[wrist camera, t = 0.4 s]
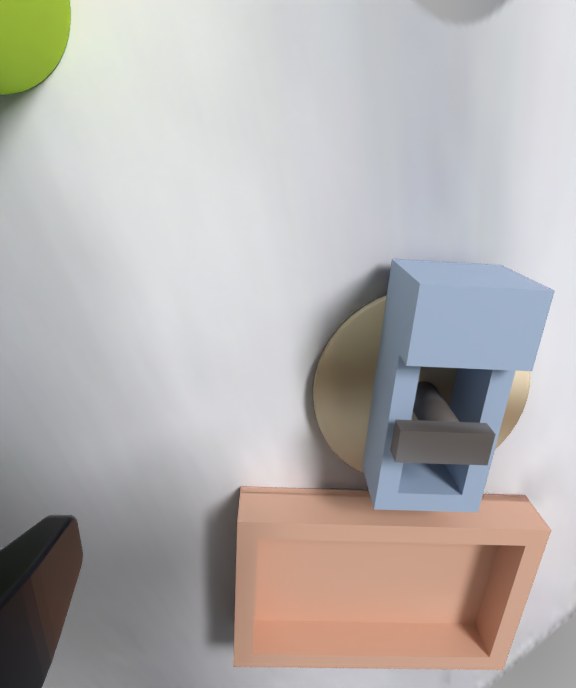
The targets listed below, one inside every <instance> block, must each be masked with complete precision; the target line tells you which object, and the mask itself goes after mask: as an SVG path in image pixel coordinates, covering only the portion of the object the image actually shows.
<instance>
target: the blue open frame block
mask: <svg viewBox="0 0 576 688" xmlns="http://www.w3.org/2000/svg"><path fill="white" fill-rule="evenodd" d="M553 294H554V290H552V289H550V288H548V287H546V286H544V285H542V284H540V283H538V282H535V281H533V280H531V279H529V278H527V277H525V276H523V275H521V274H519V273H517V272H515V271H513V270H511V269H509V268H507V267H504V266H502V265H493V264H475V263H457V262H439V261H421V260H403V259H392V262H391V269H390V276H389V283H388V290H387V297H386V304H385V311H384V318H383V325H382V332H381V339H380V346H379V353H378V360H377V367H376V374H375V381H374V387H373V394H372V401H371V408H370V415H369V422H368V429H367V436H366V443H365V450H364V457H363V464H362V468H363V472H364V475H365V479H366V482H367V486H368V489H369V493H370V496H371V500H372V503H373V507H374V509H376V510H411V511H445V512H478V511H479V507H480V503H481V499H482V496H483V492H484V488H485V484H486V481H487V477H488V473H489V469H490V466H491V462H492V458H493V454H494V451H495V447H496V443H497V439H498V436H499V432H500V428H501V424H502V420H503V417H504V413H505V409H506V405H507V402H508V398H509V394H510V390H511V387H512V383H513V379H514V375H515V372H516V371H532V369H533V366H534V362H535V359H536V355H537V352H538V348H539V344H540V341H541V337H542V334H543V330H544V327H545V323H546V319H547V316H548V312H549V309H550V305H551V302H552V298H553ZM421 366H423V367H445V368H458V369H457V373H456V378H455V383H454V387H453V392H452V397H451V401H450V406H449V407H450V409H451V410H452V412H453V413H454V415H455V416H456V417H457V419H458V420H459V422H474V423H487V424H488V425H489V427H490V428H491V429H492V430H493V432H494V433H495V434H496V435H495V439H494V442H493V446H492V450H491V454H490V458H489V462H488V465H459V464H429V463H400V462H395V461H394V458H393V456H392V453H391V451H390V449H391V443H392V437H393V431H394V425H395V419H396V420H411V418H412V412H413V407H414V401H415V396H416V391H417V385H418V380H419V374H420V369H421Z"/></svg>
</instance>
